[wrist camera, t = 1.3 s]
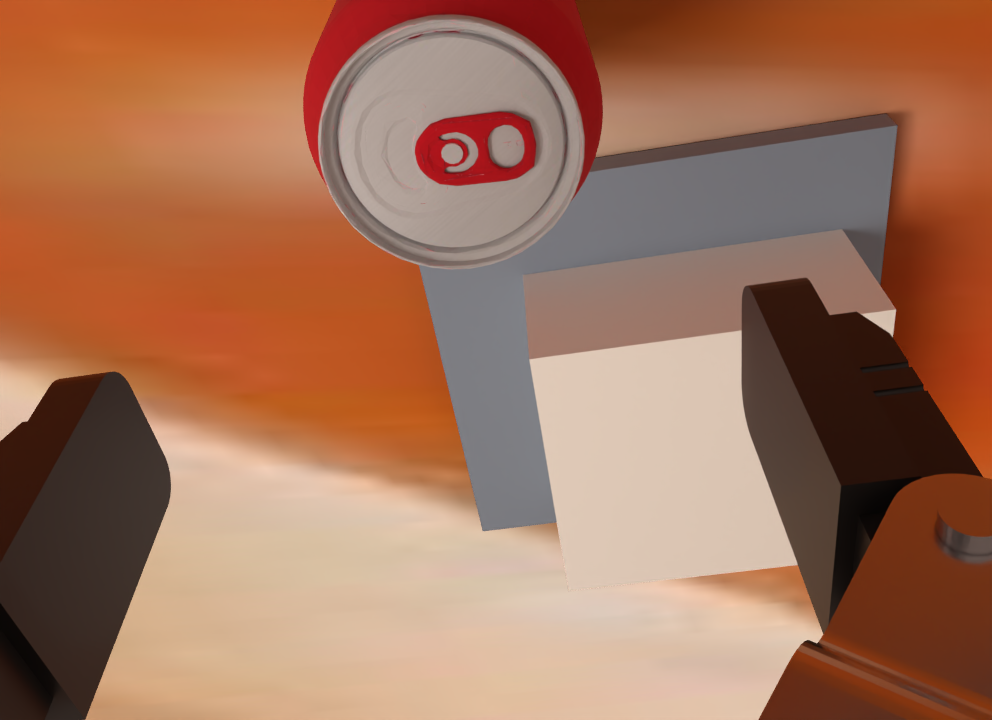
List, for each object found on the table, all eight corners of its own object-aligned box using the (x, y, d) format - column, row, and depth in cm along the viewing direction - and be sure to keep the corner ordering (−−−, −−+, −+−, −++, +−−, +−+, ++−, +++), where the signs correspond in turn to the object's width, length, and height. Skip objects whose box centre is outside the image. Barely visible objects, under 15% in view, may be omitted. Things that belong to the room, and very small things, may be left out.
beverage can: (335, -112, 26) (249, 9, 16) (555, -142, 25) (604, -38, 16) (379, 103, 29) (330, 307, 20) (571, 79, 29) (619, 274, 19)
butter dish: (405, 187, 31) (392, 279, 26) (886, 113, 30) (965, 195, 25) (482, 514, 40) (483, 626, 36) (850, 469, 39) (903, 578, 34)
